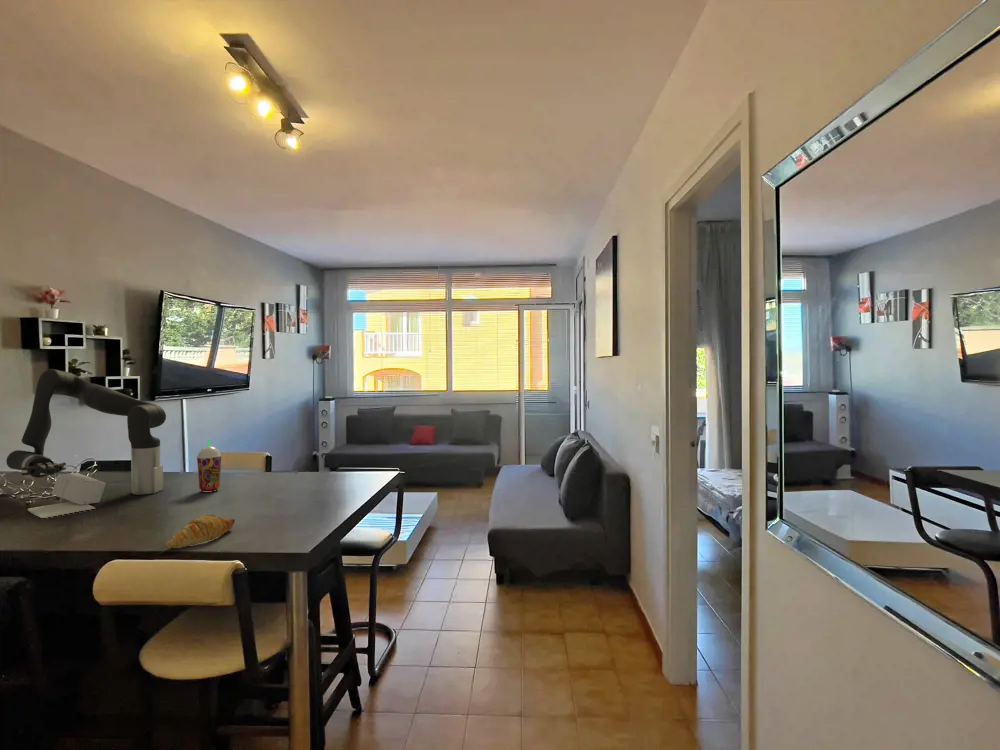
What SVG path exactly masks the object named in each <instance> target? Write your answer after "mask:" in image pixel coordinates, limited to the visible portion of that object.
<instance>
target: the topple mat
mask: <svg viewBox="0 0 1000 750" xmlns="http://www.w3.org/2000/svg"><path fill="white" fill-rule="evenodd" d="M91 509H95V510H96V507H95V506H93V505H90V504H83V505H80V504H77V503H75V502H72V501H65V502H60V503H59V502H58V503H53V504H48V505H42V506H35V507H29V508H27V511H28V512H29V513H31V514H32V515H34V516H36V517H37V516H38V517H37V518H39V517H40V518H46V519H49V518H48V517H51V518H54V517H53V516H57V517H59V516H58V515H62V516H65V515H64V514H68V515H70V514H69V513H73V514H75V513H74V512H79V511H84V512H86V511H85V510H90V511H92V510H91ZM79 513H80V512H79ZM40 518H39V519H40Z"/></svg>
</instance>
